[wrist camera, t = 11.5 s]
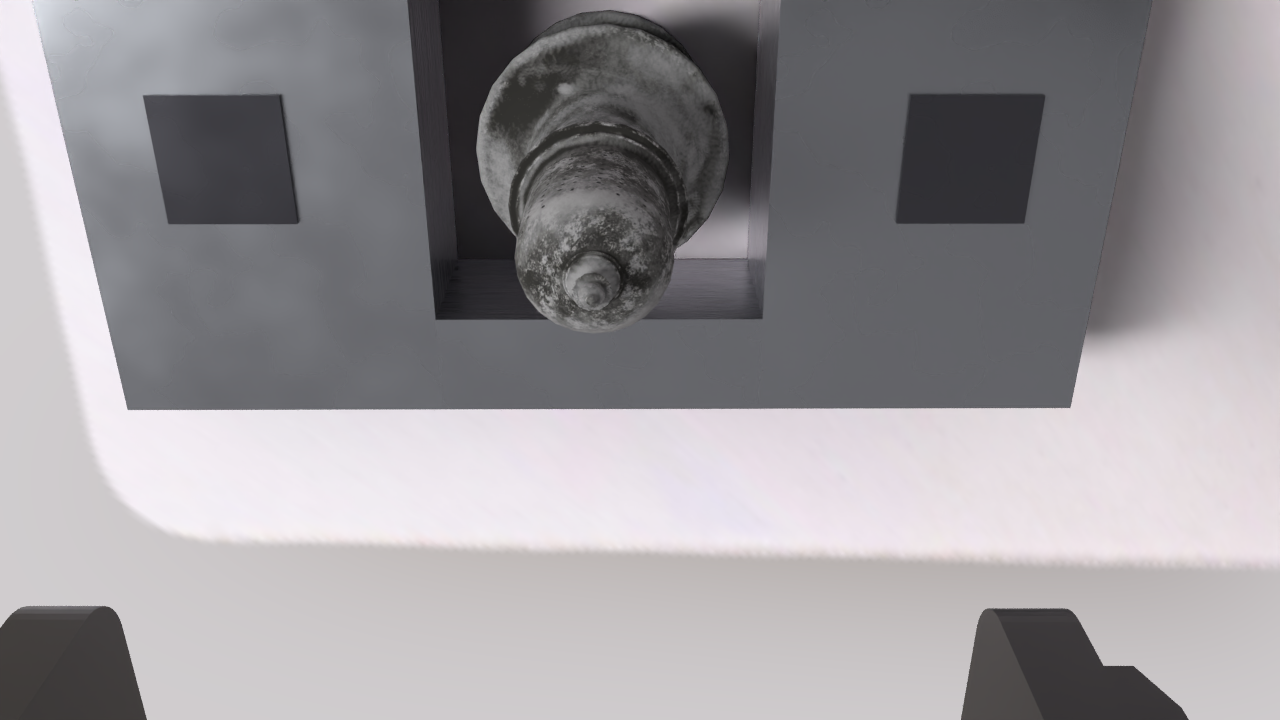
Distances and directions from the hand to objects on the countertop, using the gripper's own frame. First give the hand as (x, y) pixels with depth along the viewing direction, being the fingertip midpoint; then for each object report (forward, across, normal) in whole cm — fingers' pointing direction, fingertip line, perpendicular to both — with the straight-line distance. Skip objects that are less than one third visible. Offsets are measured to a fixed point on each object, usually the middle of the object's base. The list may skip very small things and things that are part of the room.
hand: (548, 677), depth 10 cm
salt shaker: (+21, 0, 0) cm, 21 cm away
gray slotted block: (+21, 0, 0) cm, 21 cm away
